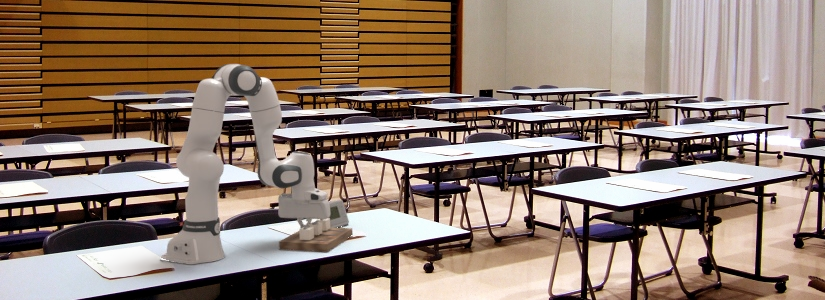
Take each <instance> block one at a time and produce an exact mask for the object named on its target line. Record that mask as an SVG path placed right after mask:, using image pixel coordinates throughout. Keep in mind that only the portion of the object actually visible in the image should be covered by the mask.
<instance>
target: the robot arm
mask: <svg viewBox="0 0 825 300" xmlns="http://www.w3.org/2000/svg"><path fill="white" fill-rule="evenodd" d="M230 96H242V97H244V98H245V99H246V101H247V104H248V108H249V112H250V113H249V114H250V117H251V120H252V125H253V131H254V139H255V140H254V141H255V145H256V146H255V147H256V150H257V157H258V165H257V178H258V180H259V181H260V182H261V184H263V185H265V186H267V187H274V188H278V189H287V188H291V189H290V191H291V193H285V192H283V193H281V194H279V196H278V199H277V200H278V208H277V210H278V215H277V216H278V217H279V218H282V219H283V218H284V219H296V220H297V221H296V222H297V223H298V225H299V226H300V227H299V229H301V228H303V227H306V226H308V224H310V223H312V222H313V221H312V220H318V219H327V218H329V217H330V205H329V202H330V201H329V200H328V199H327V198H328V192H326V191H325V190H321V189H319V188H316V186H315V179H314V177H315V163H314V159H313V156H312V155H311V153H308V152H305V151H297V150H296V151H293V152H291V153H290V155H288V156H287V157H286V158H284V159H283V160H279V159H278V158H277V156H276V152H275V146H274V138H273V134H274V132H275V131H276V130H277V129H278V128H279V127H280V126H281V124H282V121H283V119H282V118H283V116H282V109H281V104H280V101H279V96H278V93H277V90H276V88H275V86H274V84H273V82H272V80H270V79H269V78H267V77H263V76H262V77H260V75H258V73H257V71H255V70H254V69H253V68H252V67H250V66H249V65H245V64H240V63H227V64H223V65H221V66H220V67H218V68H217V70H216V71H214V74H213V76H212V77H211V78H205V79H202V80H201V81H200V82H199V83H198V86H197V89H196V92H195V94H194V97H193V98H194V99H193V103H192V106H191V114H190V117H189V118H190V119H189V126H188V128H187V129H188V131H187V134H186V137H185V139H184V141H183V144H182V148H181V150H180V152H179V153H178V154H177V156H176V160H175V161H176V163H175V164H176V167H177V169H178V170H179V172H180V173H181V174H182V175H183V176H185V177H186V178H188V179H189V180H188V188H187V193H186V195H185V201H184V202H185V203H184V204H185V217H186V218H185V219H184V220H182V221H181V222H180V223H179V224H180V225H179V226H180V227H182V229H181V230H180V231H179V232H178V233H176V234H175V236H173V237H172V238H171V239H170V240H169V241H168V243H167V245H166V246H167V247H166V252H165V253H164V254H162V255H161V256H160V257H161V258H163V259H166V260H169V261H174V262H173V263H176V262H180V263H179V264H183V263H186V264H185V265H195V264H201V263H210V262H215V261H219V260H222V259H224V258H225V257H226V255H225V252H224V248H223V244H222V239H221V219H220V217H219V206H218V204H219V203H218V202H219V201H218V198H219V197H218V194H219V189H220V188H219V186H220V181H221V177H222V175H223V173H224V170H225V166H224V162H223V161H222V158H220V156H218V154H216V153H215V152H213V151H214V148H215V146H216V143H217V141H218V139H219V138H220V136H221V133H222V130H223V129H222V127H223V122H224V116H225V109H226V104H227V101H228V99H229V97H230ZM304 219H305V221H306V224H304V222H303V220H304ZM169 261H168V262H169Z"/></svg>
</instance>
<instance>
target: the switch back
mask: <svg viewBox="0 0 825 300" xmlns="http://www.w3.org/2000/svg"><path fill="white" fill-rule="evenodd" d="M315 221H318V223H322V231H327V230H329V229H330V218H327V219H315Z"/></svg>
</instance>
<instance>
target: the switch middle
mask: <svg viewBox="0 0 825 300" xmlns="http://www.w3.org/2000/svg"><path fill="white" fill-rule="evenodd" d="M308 225H309V226H310V227H314V235H320V234H322V223H318V221H316V220H315V221H311V223H310V224H308Z"/></svg>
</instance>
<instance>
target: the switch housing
mask: <svg viewBox="0 0 825 300" xmlns="http://www.w3.org/2000/svg"><path fill="white" fill-rule="evenodd" d="M351 235H353V227H352V228H351V227H350V228H349V227H340V228H332V227H330V229H329V230H327V231H322V234H320V235H314V238H313V239H311V240H300V232H299V230H297V231H296V232H294V233H292V234H290V235H289V236H287V237H284V238H283V239H281V240H279V241H278V249H279V250H283V251H297V252H298V251H299V252H314V253H315V252H317V253H328V252H330V251H332V250H333V249H334V248H336V247H338V246H339V245H341V244H342V243H344V242H346V241H347V240H349V239H348V237H350V236H351ZM353 236H354V235H353ZM350 238H351V237H350Z"/></svg>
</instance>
